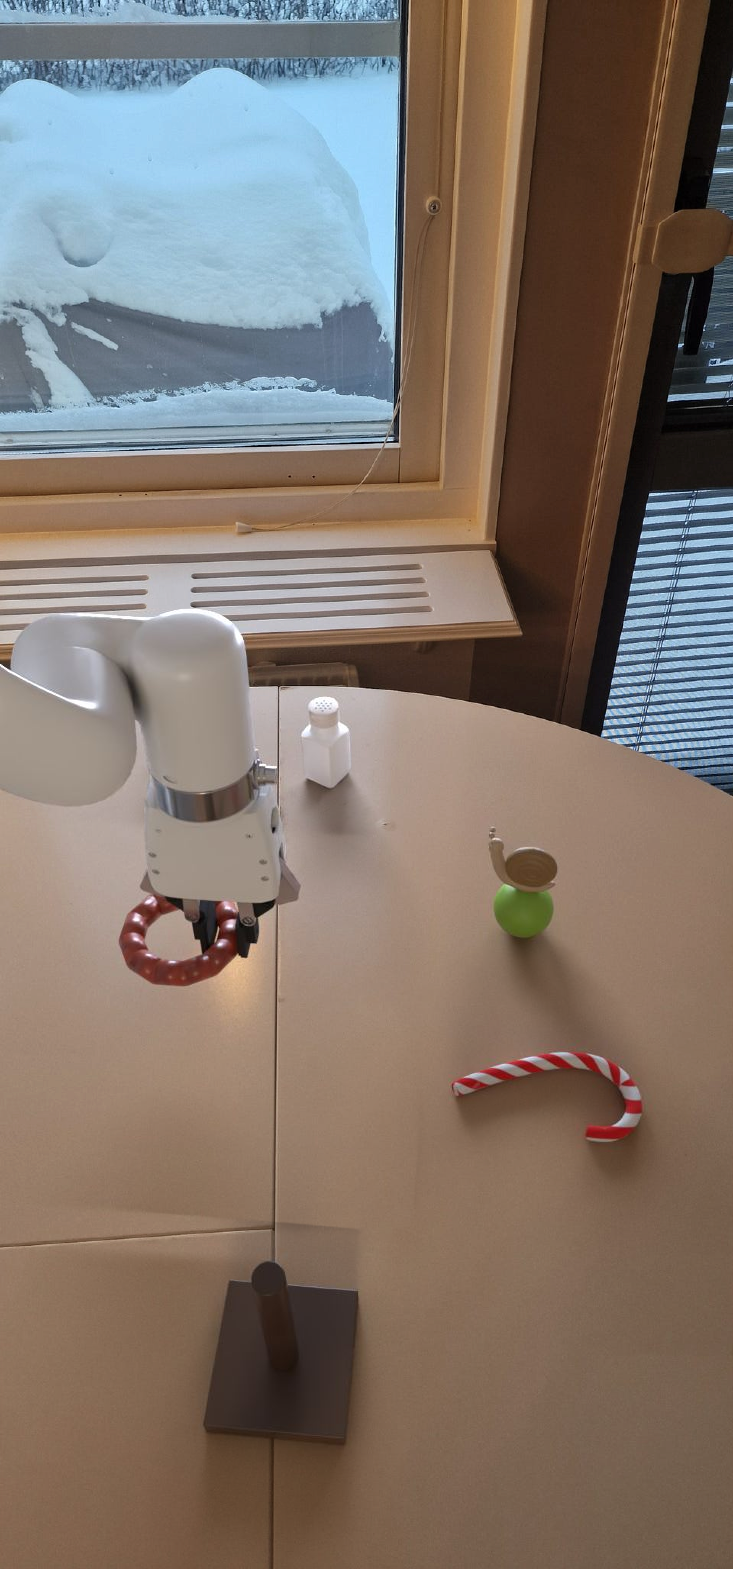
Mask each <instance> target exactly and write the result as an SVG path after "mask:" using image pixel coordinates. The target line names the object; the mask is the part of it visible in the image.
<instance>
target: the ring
mask: <svg viewBox="0 0 733 1569" xmlns="http://www.w3.org/2000/svg"><path fill="white" fill-rule="evenodd" d="M214 903H215V910H216V916H217V925H218V931H217V935H216V939H215V943H214V944H213V945H212V946H211V947H210V948H209V949H208V950H207V951H206V952H205V953H204V954H202V953H201V954H197V955H196V956H193V957H190V958H187V959H184V960H176V959H163V958H161V957H159V956H158V955H156V954H154V953H153V952H151V951H149V948H148V945H147V943H146V940H145V939H146V936H147V934H148V930H149V928H150V927H151V926H152V925H153V924H154V923H156V921H157V920H159V919H160V918H161V917H162V916H164V915H168V914H172V913H174V912H177V911H181V910H180V909H179V908H177V907H175V906H174V905H172V904H171V903H169V902H168V901H167V900H166V899H165V897H163V896H162V897H159V896H156V895H154V894H151V893H150V894H149V895H148V896H146V897H145V898H144V899H142V901H141V902H140V903H138V904H137V905H136V906H135V907H134V908H132V909H131V911H129V912H128V913H127V915H126V917H125V920H124V923H123V925H122V929H121V931H120V934H119V936H118V945H119V948H120V951H121V953H122V954H121V955H122V956H123V959H124V961H125V965H126V967H127V969H129V970H130V971H132V972H133V973H135V974H136V975H138V976H139V977H141V978H143V979H144V980H146V981H147V982H149V983H150V984H152V985H156V986H157V985H158V986H170V987H189V986H191V985H194V984H197V983H200V982H203V981H205V980H208V979H212V978H215V977H216V976H218V975H219V974H220V973H221V972H222V971H223V970H224V969H225V968H226V967H227V966H228V965H229V964H230V963H231V962H232V961H233V960H234V959H235V958H236V957H237V956H238V949H237V941H236V934H235V924H236V920H237V915H238V908H237V906H236V905H235V902H227V901H214Z"/></svg>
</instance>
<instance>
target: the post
mask: <svg viewBox="0 0 733 1569" xmlns="http://www.w3.org/2000/svg"><path fill="white" fill-rule="evenodd" d="M358 1311H359V1290H357V1289H347V1288H336V1287H335V1288H334V1287H325V1286H324V1287H322V1286H312V1285H310V1286H309V1285H299V1284H288V1282H287V1275H286V1271H285V1268H284V1267H283V1266H282V1265H281V1264H280V1263H278V1262H276V1261H274V1260H266V1261H263V1262H261V1263H259V1264H257V1266H256V1267H255V1268H254V1269H253V1271H252V1274H251V1277H250V1281H249V1280H238V1279H229V1280H228V1284H227V1290H226V1295H225V1301H224V1306H223V1312H222V1317H221V1322H220V1328H219V1332H218V1333H219V1334H218V1339H217V1345H216V1349H215V1350H216V1351H215V1355H214V1356H215V1357H214V1360H213V1367H212V1372H211V1378H210V1384H209V1389H208V1395H207V1399H206V1400H207V1402H206V1405H205V1411H204V1417H203V1423H202V1426H203V1428H204V1431H205V1433H207V1434H217V1435H227V1436H229V1435H230V1436H237V1437H238V1436H239V1437H250V1438H260V1439H271V1440H280V1441H281V1440H282V1441H290V1442H291V1441H292V1442H303V1443H313V1444H324V1445H335V1446H346V1445H347V1434H348V1424H349V1423H348V1421H349V1411H350V1400H351V1398H350V1397H351V1388H352V1377H353V1365H354V1357H355V1356H354V1355H355V1343H356V1335H357V1334H356V1333H357V1322H358Z"/></svg>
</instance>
